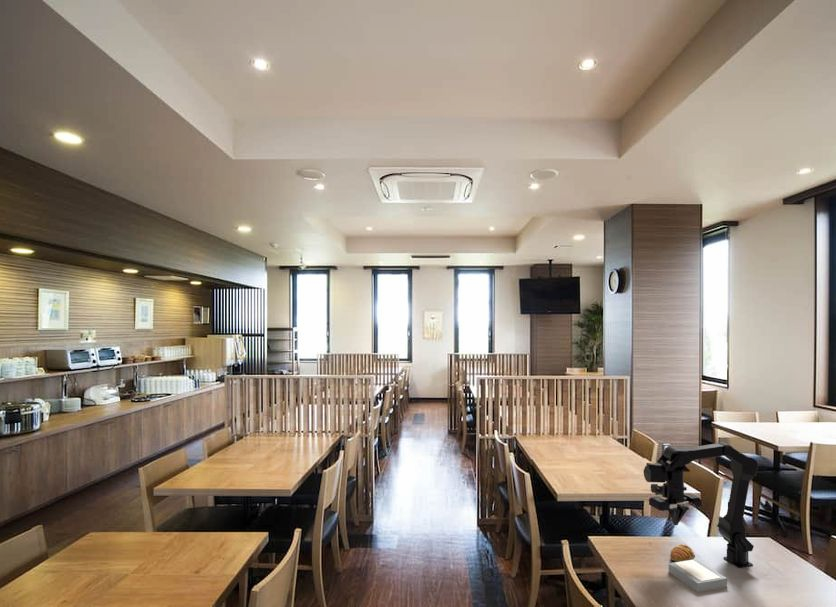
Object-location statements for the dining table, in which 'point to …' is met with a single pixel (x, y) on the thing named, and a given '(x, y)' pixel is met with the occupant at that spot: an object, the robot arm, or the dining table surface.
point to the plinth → (697, 575)
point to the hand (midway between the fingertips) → (675, 524)
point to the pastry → (682, 553)
